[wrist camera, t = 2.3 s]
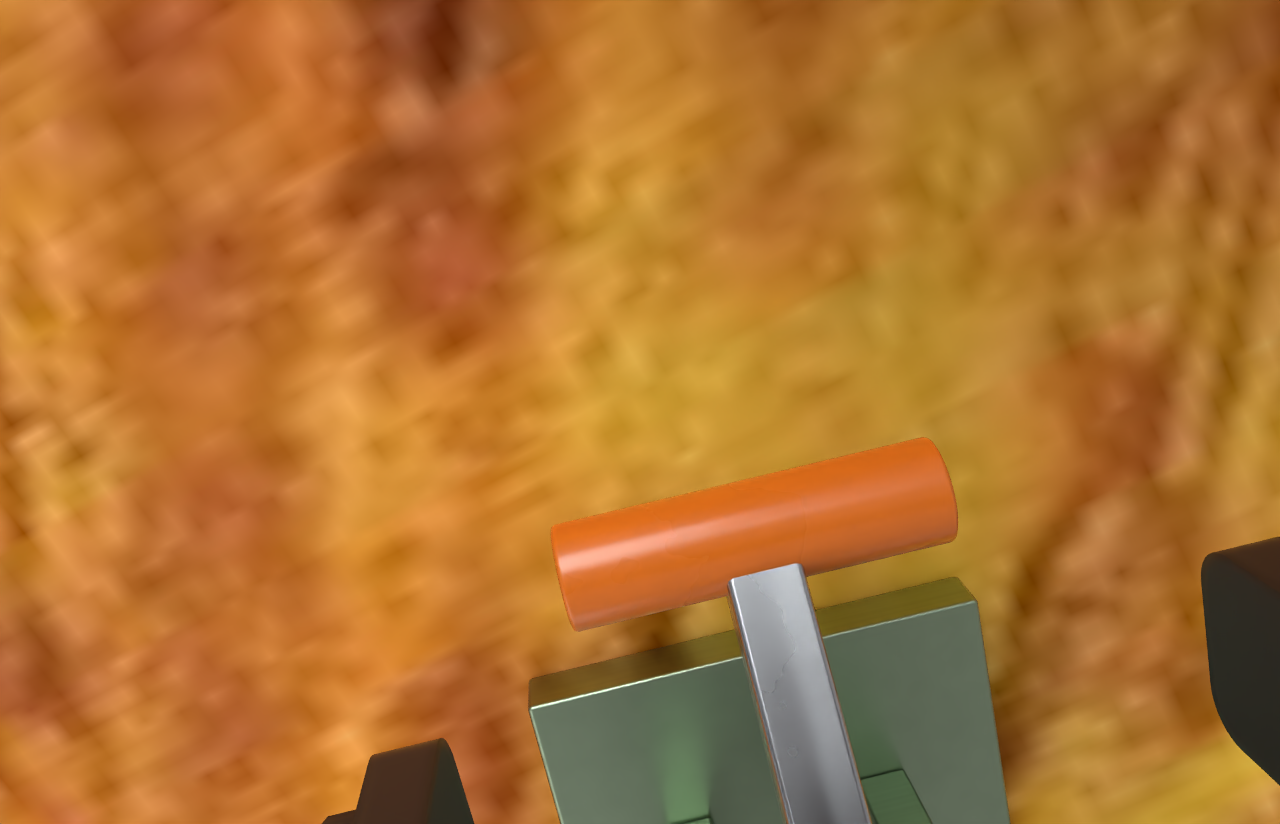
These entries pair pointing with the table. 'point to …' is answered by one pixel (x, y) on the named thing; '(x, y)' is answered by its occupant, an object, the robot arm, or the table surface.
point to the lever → (768, 588)
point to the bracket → (730, 735)
